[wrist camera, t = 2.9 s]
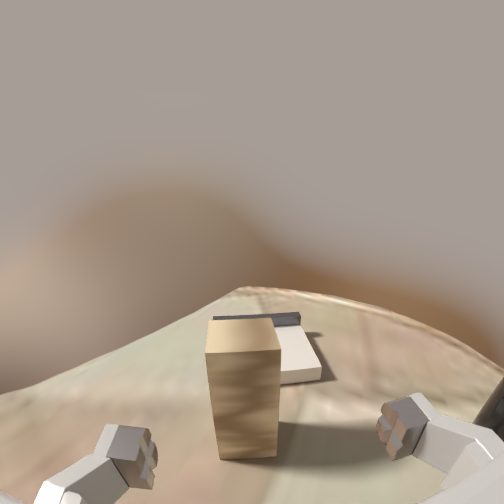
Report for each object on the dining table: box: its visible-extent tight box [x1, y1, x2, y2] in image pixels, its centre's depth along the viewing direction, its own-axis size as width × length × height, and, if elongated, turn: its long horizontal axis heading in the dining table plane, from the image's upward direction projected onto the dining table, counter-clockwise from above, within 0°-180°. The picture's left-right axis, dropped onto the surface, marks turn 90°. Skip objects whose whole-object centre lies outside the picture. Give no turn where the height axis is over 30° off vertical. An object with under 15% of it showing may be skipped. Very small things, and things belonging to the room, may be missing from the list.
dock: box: [213, 312, 322, 384], centre depth 38 cm, size 13×13×4 cm
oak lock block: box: [205, 318, 281, 460], centre depth 22 cm, size 5×5×12 cm
